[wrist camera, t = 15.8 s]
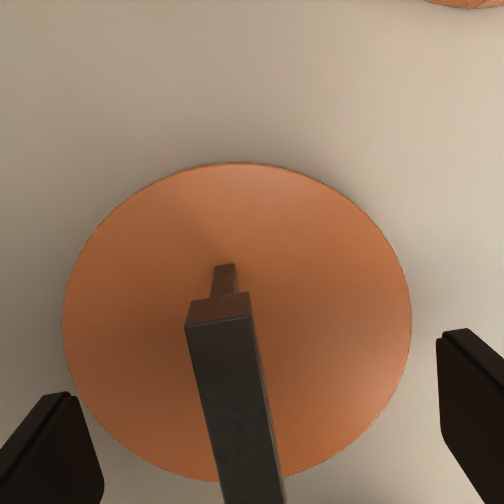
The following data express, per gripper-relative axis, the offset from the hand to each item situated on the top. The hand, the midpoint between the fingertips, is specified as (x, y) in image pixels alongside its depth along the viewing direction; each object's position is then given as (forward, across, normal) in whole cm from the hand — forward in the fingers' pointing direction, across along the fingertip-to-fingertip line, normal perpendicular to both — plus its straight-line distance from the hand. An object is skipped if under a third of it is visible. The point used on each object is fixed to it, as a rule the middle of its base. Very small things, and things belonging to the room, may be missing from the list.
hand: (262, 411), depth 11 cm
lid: (+4, +1, 0) cm, 5 cm away
